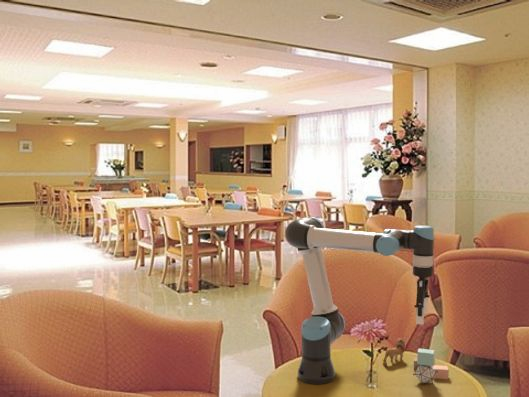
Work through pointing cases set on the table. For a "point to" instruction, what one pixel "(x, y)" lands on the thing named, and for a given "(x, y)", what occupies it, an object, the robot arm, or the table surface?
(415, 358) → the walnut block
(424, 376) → the game die
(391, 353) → the lion figurine
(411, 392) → the table surface
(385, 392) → the table surface
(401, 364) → the table surface
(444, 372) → the terracotta block
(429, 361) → the teal block
